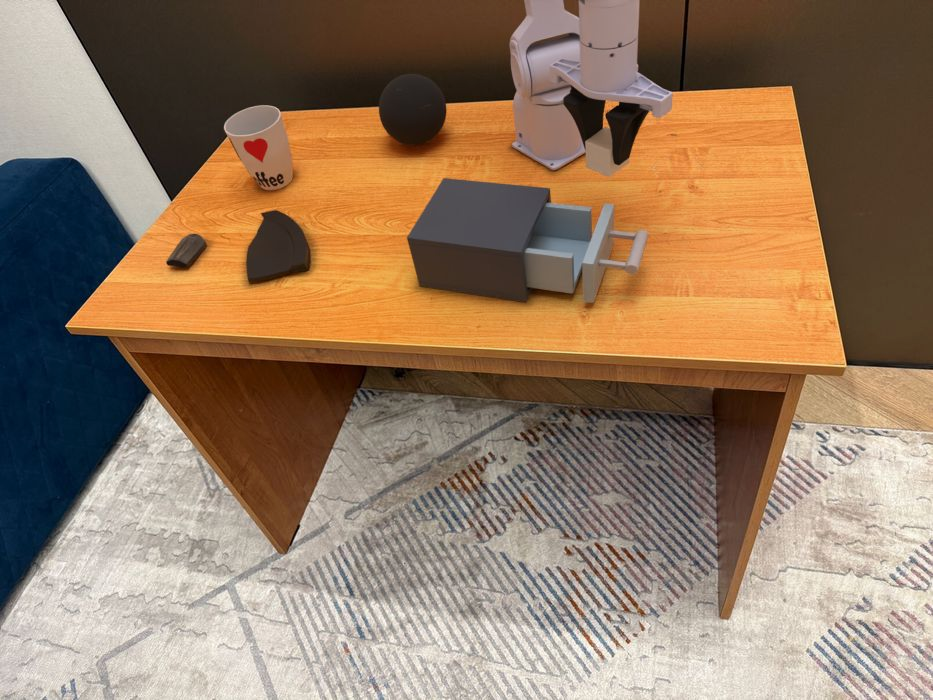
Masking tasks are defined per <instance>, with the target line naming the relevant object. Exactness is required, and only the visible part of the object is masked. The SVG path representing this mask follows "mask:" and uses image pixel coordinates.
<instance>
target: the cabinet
mask: <svg viewBox="0 0 933 700" xmlns="http://www.w3.org/2000/svg"><path fill="white" fill-rule="evenodd" d="M551 194H552V193H551V188H550V187H541V186H531V185H520V184H510V183H502V182H501V183H500V182H490V181H489V182H488V181H479V180H468V179H459V178H458V179H457V178H448V177H444V178H442V180H441V181H440V183H439V185H438V186H437V188H436V190H435V191H434V193H433V195H432V196H431V198H430V199H429V201H428V203H427V204H426V206H425V207H424V209H423V211H422V212H421V213H420V215H419V217H418V218H417V220H416V222H415V224H414V225H413V227H412V229H411V230H410V232H409V233H408V235H407V237H406V240H407V244H408V248H409V251H410V255H411V259H412V263H413V265H414V266H413V267H414V270H415V275H416V278H417V283H418V286H419V287H422V288H429V289H435V290H436V289H437V290H443V291H449V292H455V293H460V294H461V293H462V294H467V295H473V296H474V295H475V296H482V297H488V298H494V299H495V298H496V299H500V300H506V301H507V300H508V301H514V302H521V303H527V302H528V300H529V297H530V295H531V293H532V290H533V288H531V287H527V282H526V273H525V264H524V254H523V253H524V251H525V249H526V246H527V244H528V242H529V240H530V237H531V235H532V233H533V231H534V229H535V226H536V224H537V222H538V220H539V218H540V215H541V213H542V211H543V209H544V207H545V204H546V202H547V203H552V197H551V196H552V195H551Z"/></svg>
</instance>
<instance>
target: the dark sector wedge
mask: <svg viewBox="0 0 933 700" xmlns="http://www.w3.org/2000/svg"><path fill="white" fill-rule="evenodd" d="M260 215H261V217H262V218H263V219H262V222H261V224H260V225H259V226H258V228H257V230H256V234H255V236H254V237H253V238H252V241H251V242H250V243H249V245H248V246H247V252H246V260H245V263H246V264H245V265H246V274H247V276H246V277H247V282H248V283H250V284H252V283H258V282H264V281H268V280H273V279H276V278H280V277H283V276H286V275H291V274H294V273H300V272H307V271H309V270H310V268H311V263H312V262H311V258H312V257H311V249H310V245H309V242H308V241H307V238H306V235H305V233H304V230H303V229H302V227H301V226H300V225H299V224H298V223H297V222H296V221H295V220H294V219H293V218H292V217H290V216H289V215H287V214H286V213H284V212H282V211H280V210H278V209H273V210H268V211H263V212H261V213H260Z"/></svg>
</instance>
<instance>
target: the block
mask: <svg viewBox="0 0 933 700" xmlns="http://www.w3.org/2000/svg"><path fill="white" fill-rule="evenodd" d="M207 248H208V244H207V241H206V240H205V239H204V238H203V237H202V235H200V234H198V233H189V234H187V235H185V236H184V237H183V238H181V239H180V241H179V242H178V244H177V245H176V246H175V248H174V249H173V251H172V252H171V254H170V255H169V256H168V258H167V259H166V261H165V263H166V265H167V266H168V267H175V268H176V267H177V268H183V269H184V268H186V269H188V268H189V267H190V266H191V264H193V263H194V262H195V260H196V259H197V258H198V257H199V256H201V254H202V253H203V252H204V251H205V249H207Z"/></svg>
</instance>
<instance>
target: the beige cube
mask: <svg viewBox="0 0 933 700" xmlns="http://www.w3.org/2000/svg"><path fill="white" fill-rule="evenodd" d="M585 145H586V153H585V168H586V169H587V170H591V171H593V172H596V173H598V174H600V175H603V176H604V177H608V178H612V177H613V176H614V175H615V174H616V173H618V172H619V171H621V170H622V169H623V168H624V167H626V166H628V164H630V157H629V158H628V159H627V160H626V161H624V162H623V163H622V164H621V165H616V164H614V161H613V155H612V136H611V131H610V127H608V126H607V127H606V126H603V129H602V130H600V131H599V132H597V133H596V134H595V135H593V136H592V137H591V138H589V139H588V140H586V141H585Z"/></svg>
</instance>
